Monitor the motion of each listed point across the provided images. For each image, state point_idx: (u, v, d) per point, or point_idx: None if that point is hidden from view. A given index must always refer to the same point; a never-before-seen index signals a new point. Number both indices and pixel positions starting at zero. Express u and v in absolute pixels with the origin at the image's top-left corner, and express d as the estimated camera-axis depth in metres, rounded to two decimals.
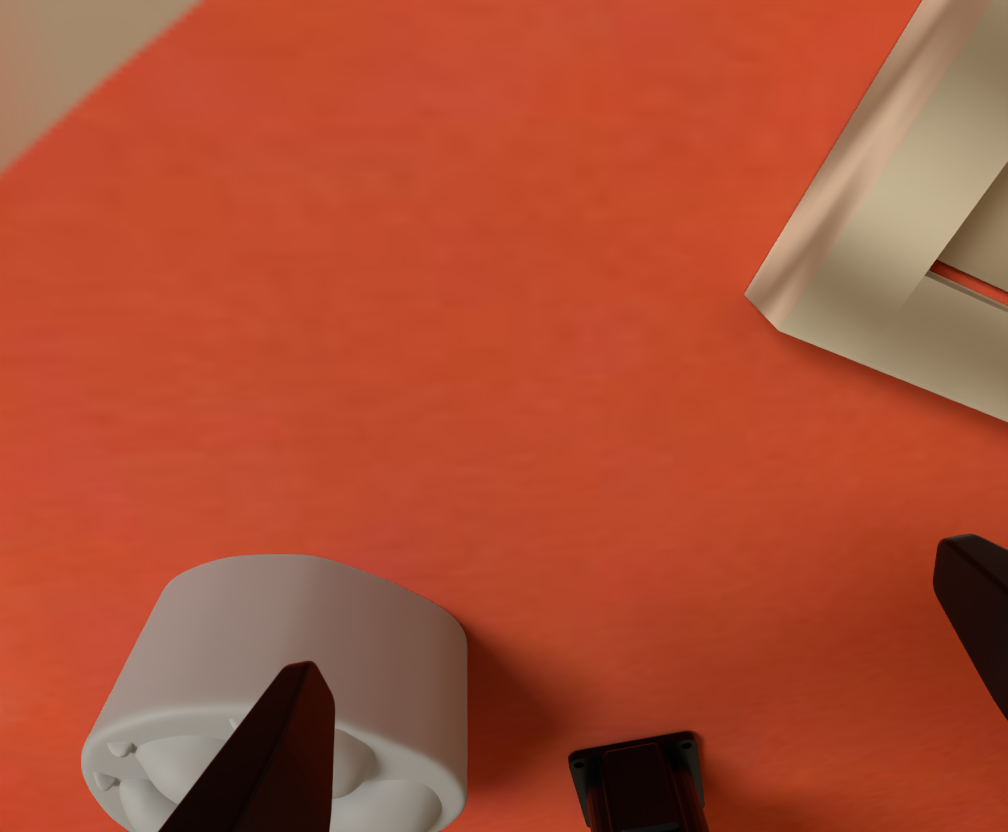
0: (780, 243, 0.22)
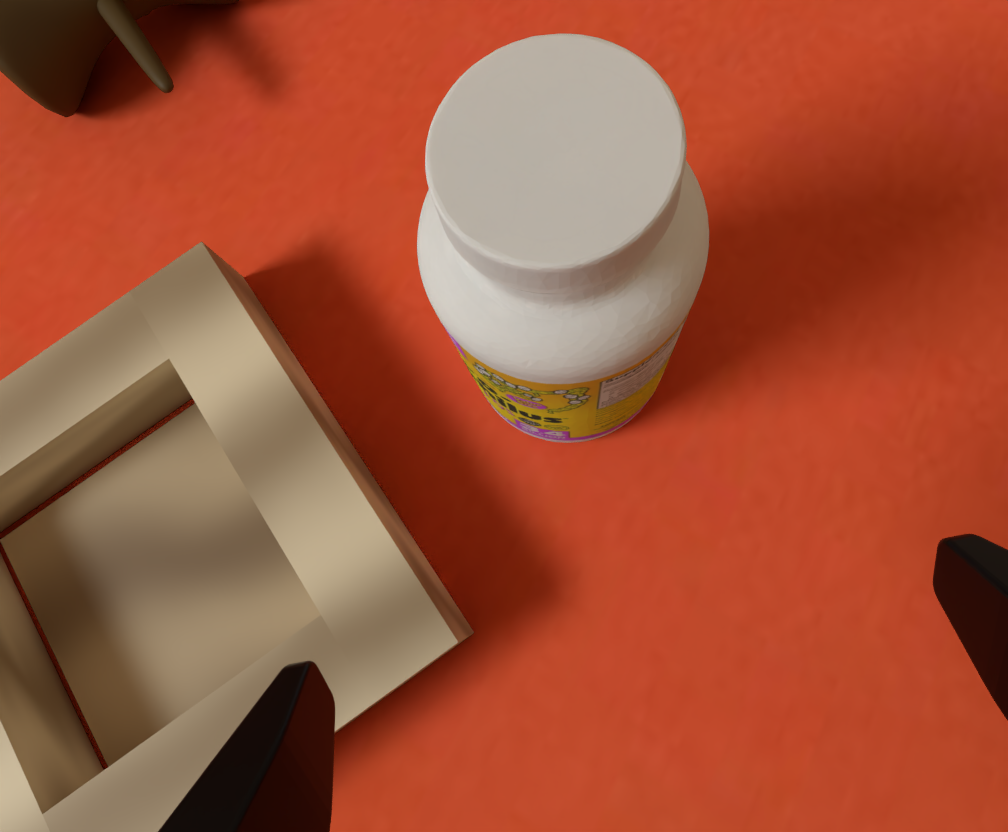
0: None
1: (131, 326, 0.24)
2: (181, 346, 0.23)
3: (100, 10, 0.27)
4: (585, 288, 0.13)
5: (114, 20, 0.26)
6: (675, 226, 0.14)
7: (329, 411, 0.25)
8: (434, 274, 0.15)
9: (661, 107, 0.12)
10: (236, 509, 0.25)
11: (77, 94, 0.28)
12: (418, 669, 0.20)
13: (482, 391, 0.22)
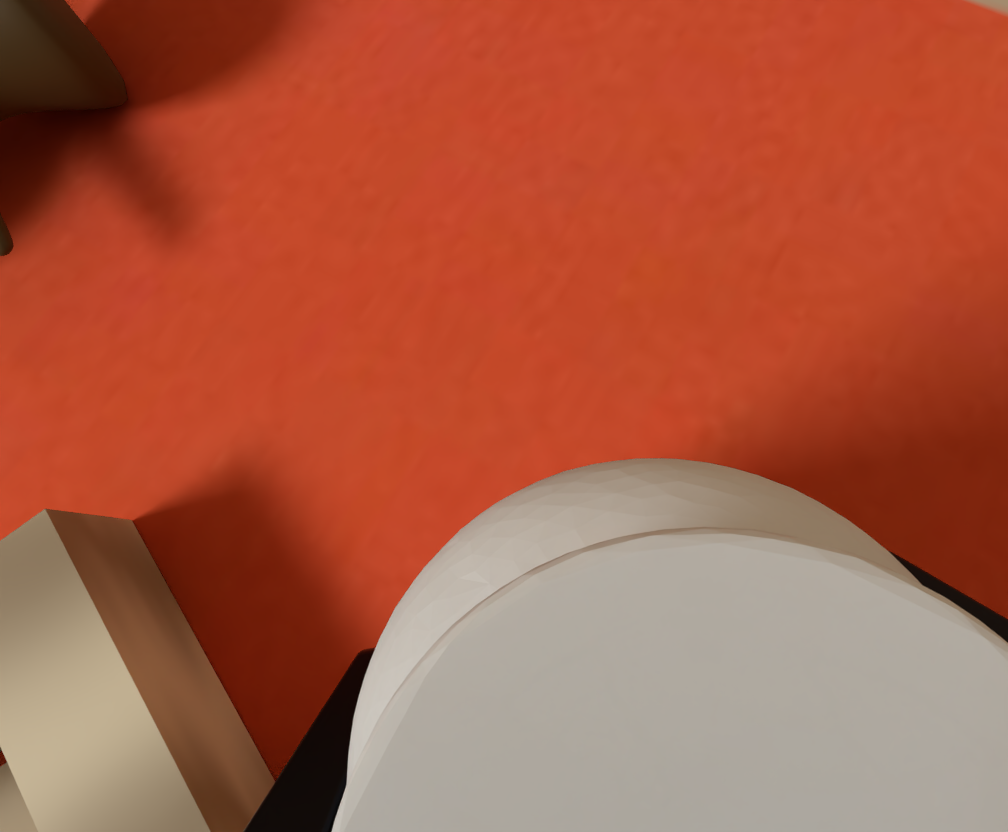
0: None
1: None
2: (5, 691, 0.14)
3: None
4: None
5: None
6: None
7: (253, 749, 0.16)
8: None
9: None
10: None
11: None
12: None
13: None
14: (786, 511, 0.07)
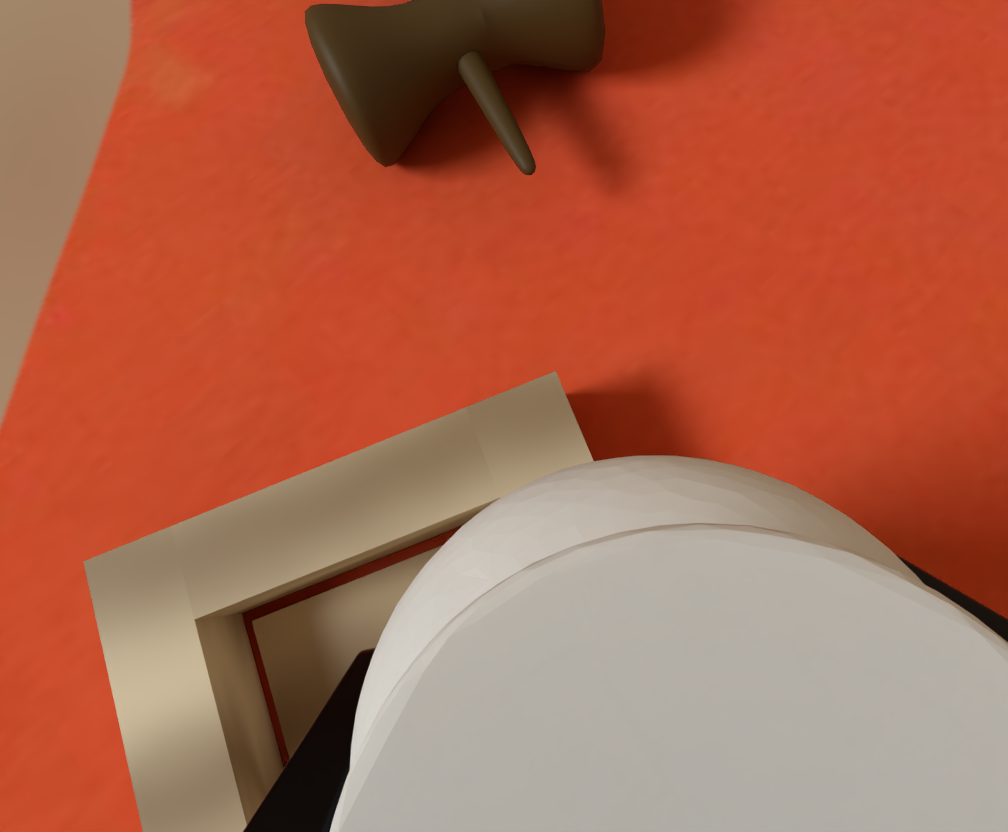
0: None
1: (462, 448, 0.21)
2: (516, 487, 0.21)
3: (462, 67, 0.24)
4: None
5: (479, 83, 0.24)
6: None
7: None
8: None
9: None
10: None
11: (405, 146, 0.26)
12: None
13: None
14: (785, 508, 0.07)
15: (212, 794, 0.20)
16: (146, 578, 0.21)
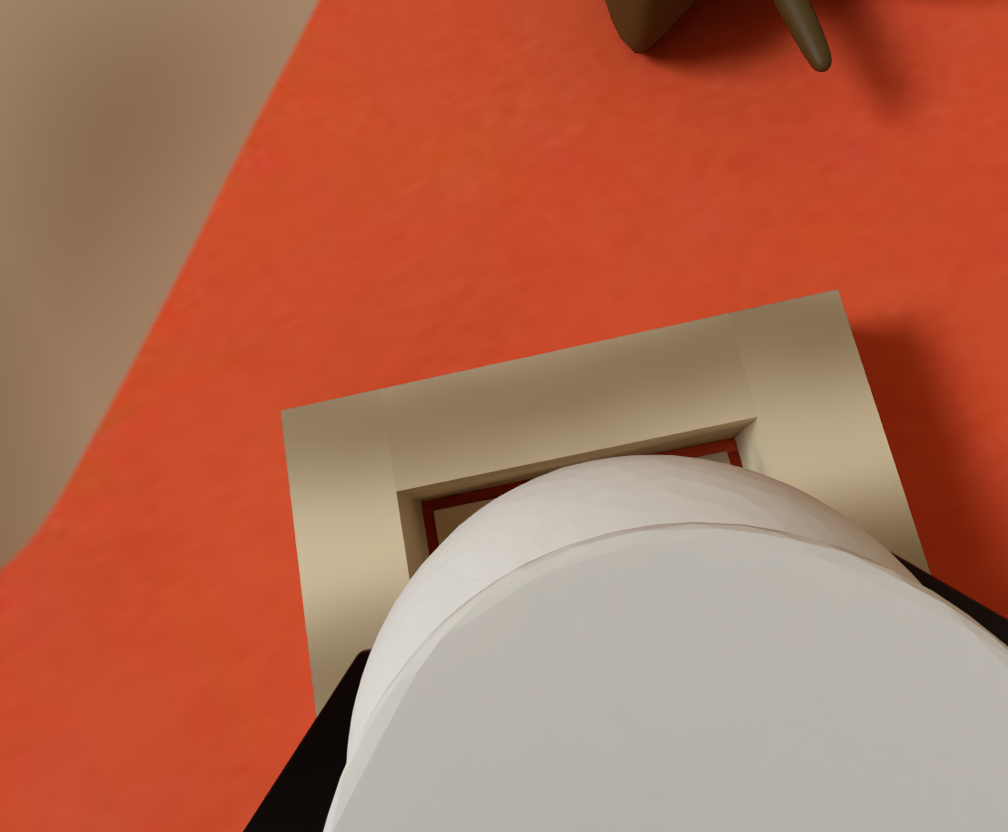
0: None
1: (720, 357, 0.19)
2: (777, 408, 0.18)
3: None
4: None
5: None
6: None
7: None
8: None
9: None
10: None
11: (665, 32, 0.23)
12: None
13: None
14: (782, 507, 0.07)
15: None
16: (348, 439, 0.20)
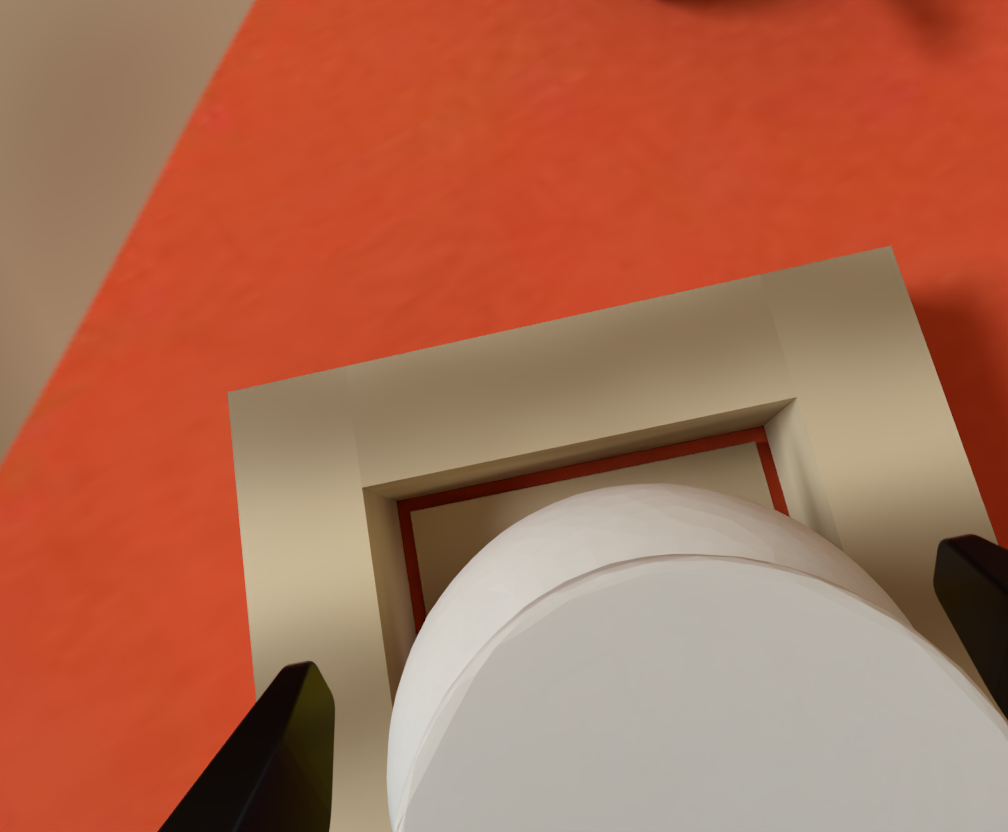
0: None
1: (750, 326, 0.16)
2: (820, 387, 0.15)
3: None
4: None
5: None
6: None
7: None
8: None
9: None
10: None
11: None
12: None
13: None
14: (770, 532, 0.08)
15: (358, 716, 0.15)
16: (306, 425, 0.17)
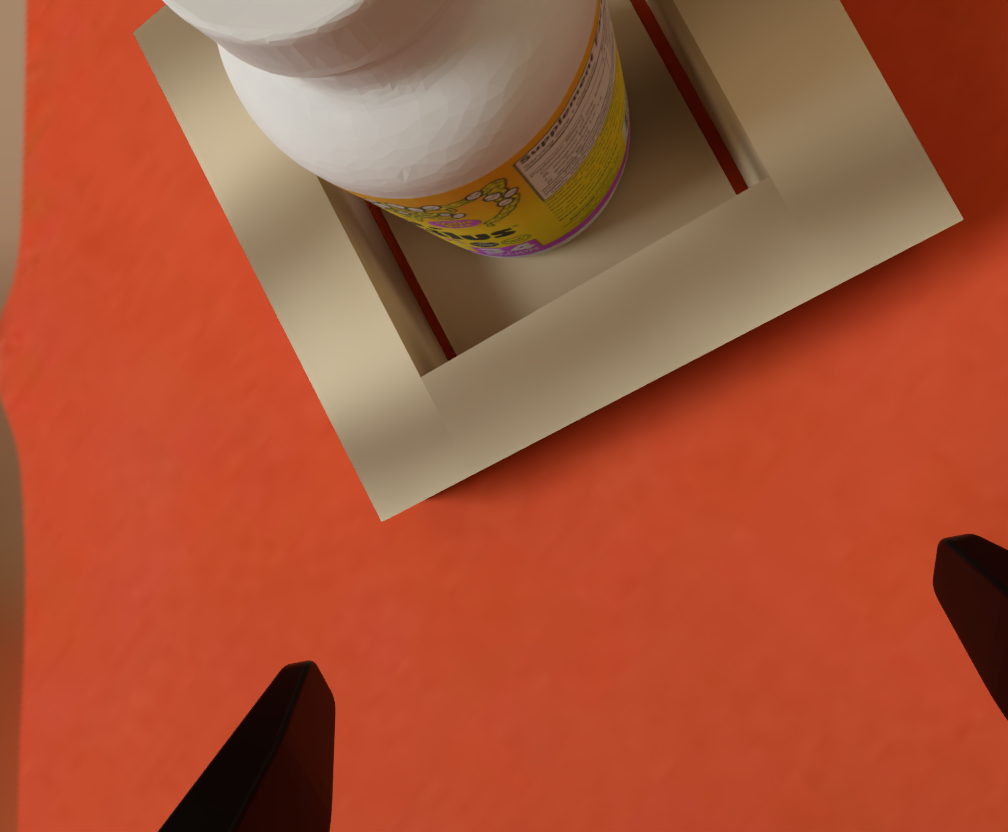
0: None
1: None
2: None
3: None
4: (405, 37, 0.09)
5: None
6: None
7: None
8: (251, 101, 0.11)
9: None
10: None
11: None
12: (899, 250, 0.16)
13: None
14: None
15: (313, 227, 0.19)
16: None
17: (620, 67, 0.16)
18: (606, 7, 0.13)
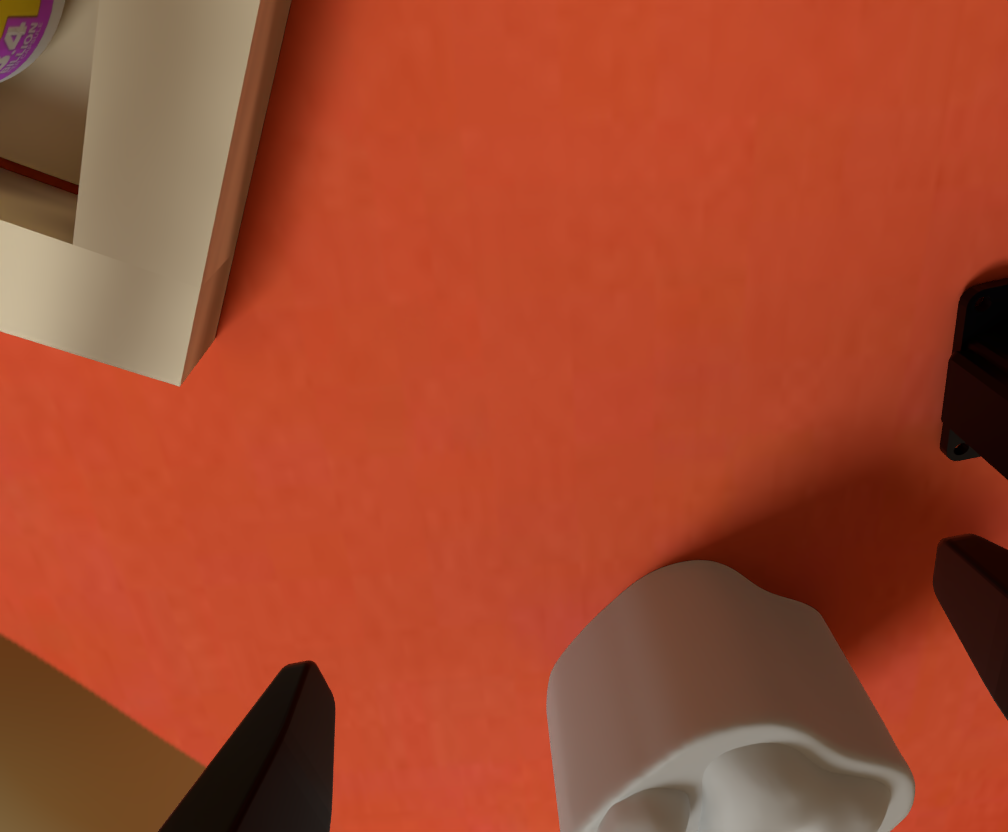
0: None
1: None
2: None
3: None
4: None
5: None
6: None
7: None
8: None
9: None
10: None
11: None
12: None
13: None
14: None
15: None
16: None
17: None
18: None
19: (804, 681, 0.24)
